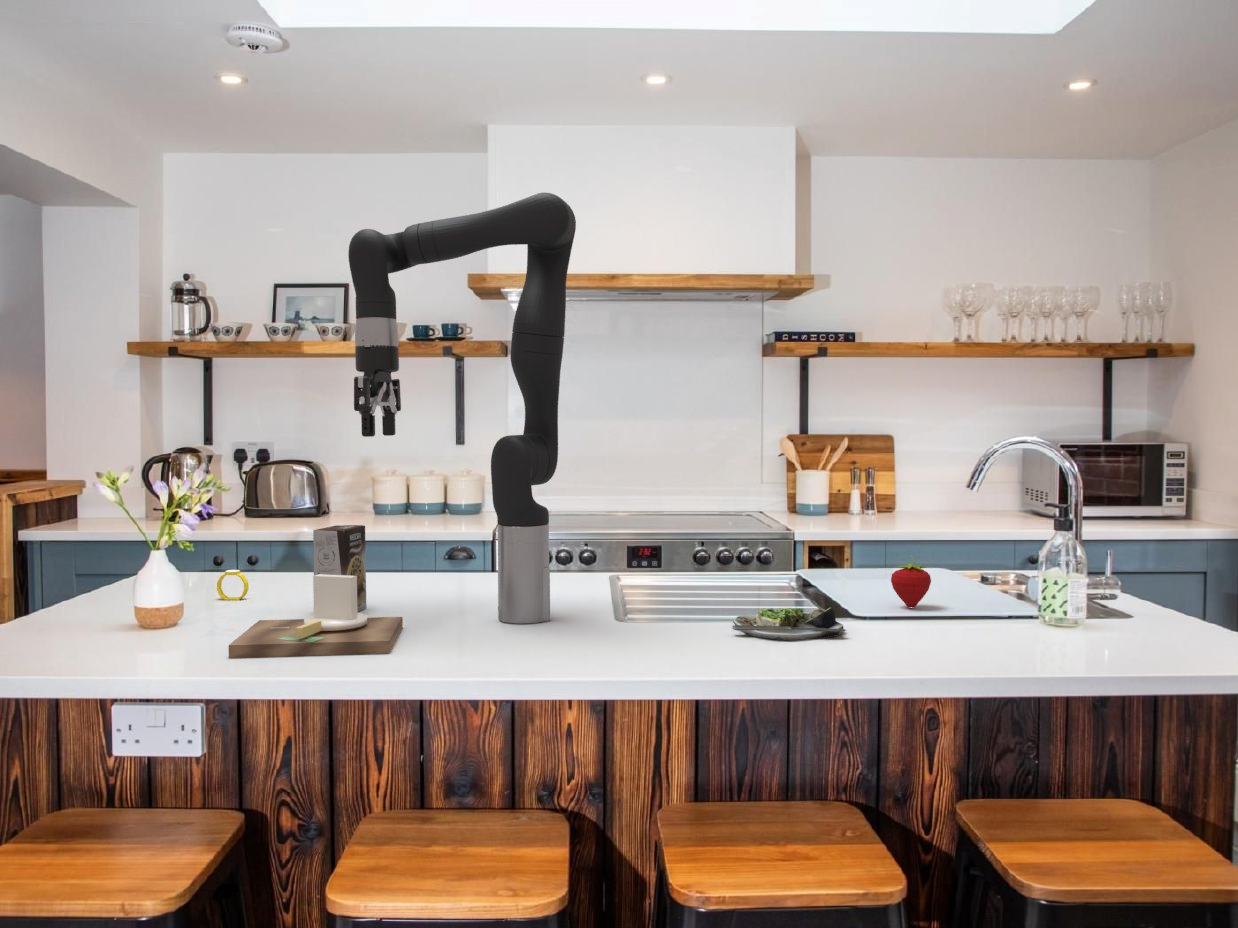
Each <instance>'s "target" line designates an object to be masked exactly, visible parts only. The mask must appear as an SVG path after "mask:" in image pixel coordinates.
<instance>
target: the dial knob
mask: <svg viewBox="0 0 1238 928" xmlns="http://www.w3.org/2000/svg"><path fill="white" fill-rule="evenodd" d="M312 580H313V581H312V583H313V584H312V585H313V586H312V588H313V614H312V615H309V616H307V617H305V618H303V619H304V625H302V626H299V627H296V638H304V637H306V636H309V635H312V634H314V633H317V632H320V631H335V630H346V629H352V628H357V627H361V626H363V625H365V624H367V618H368V615H367V614H365V613H362V612H357V576H348V575H327V574H318V575H315V576H314V575H313V576H312Z"/></svg>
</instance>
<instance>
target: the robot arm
mask: <svg viewBox="0 0 1238 928" xmlns="http://www.w3.org/2000/svg"><path fill="white" fill-rule="evenodd" d="M576 221H577V220H576V215H575V213H574V211H573V209H572V208H571V206H570V205H569V204H568V203H567V201H565V200H564V199H563V198H561V197H560V196H558V195H556V194H553V193H551V192H539V193H536V194H533V195H530V196H528V197H525V198H521V199H519V200H517V201H513V202H511V203H508V204H506V205H502V206H500V207H495V208H493V209H489V210H485V211H482V212H476V213H472V214H466V215H459V216H454V217H446V218H443V219H442V218H441V219H436V220H430V221H424V222H419V223H414V224H411V225H408V226H406V228H404V230H403V231H399V232H396V233H389V234H384V233H381V232H380V231H377V230H376V229H371V228H364V229H361V230H359V231H357V232H356V233H354V235H353V236H352V238H351V240H350V242H349V245H348V253H347V254H348V264H349V271H350V275H351V279H352V284H353V285H352V286H353V288H354V293H355V328H354V348H355V350H354V351H355V355H354V356H355V371H357V372H359V373H363V375H362V376H361V375H360V376H354V378H353V410H354V411H355V412H358V414H359V415H361V416H360V417H361V436H362V437H366V438H367V437H368V438H369V437H371V438H373V437H374V436H376V415H374V414H375V413H376V411H377V410H376V409H377V407H379V408H380V410H381V414H382V415H381V417H382V421H381V422H382V435H383V436H391V437H392V436H395V435H396V415H397V414H398V412H401V410H402V402H401V401H402V400H401V398H402V397H401V381H400V379H399V378H393V377H392V373H396V372H399V371H400V359H399V358H400V356H399V355H400V352H399V350H400V349H399V331H398V330H399V329H398V322H397V298H396V292H395V290H394V289H393V287H392V286H391V284H390V279H389V278H390V277H389V274H392V273H393V274H394V273H397V272H401V271H404V270H407V269H410V268H412V267H416V266H418V265H425V264H432V263H438V262H445V261H449V260H452V259H453V260H454V259H459V258H462V257H465V256H468V255H470V254H474V253H477V252H480V251H483V250H486V249H490V248H491V249H492V248H495V247H503V246H510V245H513V246H515V245H516V246H517V245H527V247H526V248H527V249H526V250H527V256H526V258H527V260H526V274H525V280H524V283H523V287H522V291H521V294H520V297H519V299H518V304H517V306H516V310H515V314H514V318H513V324H512V333H511V342H510V345H511V346H510V363H511V368H512V371H513V374H514V376H515V379H516V382H517V385H518V387H519V390H520V393H521V396H522V398H523V403H524V426H523V434H512V435H511V434H510V435H505V436H503V437H501V438H500V439H498V440H497V441H496V443H495V444H494V446H493V448H492V453H491V458H490V474H491V479H490V480H491V491H492V505H493V509H494V511H495V514H496V517H497V519H496V522H497V598H498V599H497V610H498V612H497V614H498V615H497V616H498V617H497V618H498V620H499V621H500V622H504V623H508V624H534V623H541V622H550V621H551V594H550V593H551V577H550V576H551V572H550V571H551V568H550V525H549V523H550V515H549V514H550V513H549V509H548V508H547V507H546V506H543V505H542V504H539V503H538V502H537V501H536V500H535V499H534V496H533V492H532V491H533V490H532V486H539V485H543V484H546V483H547V482H550V481H551V479H552V478H553V477H554V475H555V473H556V469H557V465H558V458H559V398H560V396H559V395H560V383H561V381H560V380H561V370H562V361H563V353H564V344H565V331H566V329H565V328H566V311H567V309H566V307H567V302H566V301H567V294H566V293H567V275H568V269H569V265H570V259H571V254H572V249H573V244H574V240H575V239H574V238H575V234H576V229H577V228H576V227H577V222H576Z"/></svg>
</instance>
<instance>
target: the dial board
mask: <svg viewBox="0 0 1238 928" xmlns="http://www.w3.org/2000/svg"><path fill="white" fill-rule="evenodd" d="M304 619H305V618H302V619H301V618H300V619H298V618H297V619H296V618H295V619H293V618H292V619H291V618H290V619H259V620H258V621H257V622H255V623H254V624H253V625H252V626H250V627H249V628H248V629H246V630H245V631H244V632H243V633H241V635H239V636H238V637H237V638H235V639H234V640H233V641H232V642H231V643H229V644H228V658H229V659H239V658H240V659H242V658H244V659H246V658H251V659H252V658H273V657H274V658H277V657H278V658H279V657H280V658H281V657H286V658H287V657H311V656H312V657H316V656H318V657H320V656H346V655H347V656H348V655H349V656H352V655H375V654H376V655H379V654H380V655H381V654H382V655H383V654H384V655H385V654H386V655H387V654H390V652H392V649H393V647H394V646H395V643H396V642H397V640H398V638H399V636H400V634H401V632H402V630H403V619H404V618H403V616H380V617H379V616H377V617H376V616H375V617H371V616H370V617H367V624H365V625H363V626H361V627H357V628H352V629H346V630H335V631H320V632H317V633H314V634H312V635H309V636H306V637H304V638H296V627H299V626H302V625H304Z"/></svg>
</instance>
